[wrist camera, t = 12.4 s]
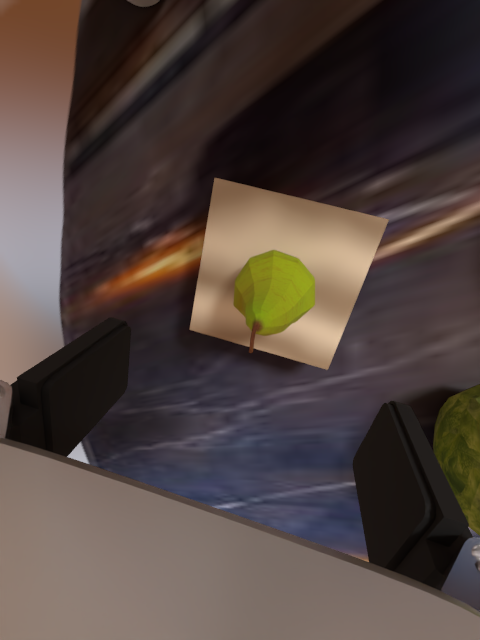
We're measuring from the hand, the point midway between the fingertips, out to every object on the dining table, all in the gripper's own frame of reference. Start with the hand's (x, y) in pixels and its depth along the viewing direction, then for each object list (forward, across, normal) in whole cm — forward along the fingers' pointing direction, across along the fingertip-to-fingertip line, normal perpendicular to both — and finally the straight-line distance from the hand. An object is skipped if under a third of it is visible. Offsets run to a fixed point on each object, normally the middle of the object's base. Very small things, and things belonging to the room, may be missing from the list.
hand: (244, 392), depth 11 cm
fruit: (+17, 0, +1) cm, 17 cm away
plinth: (+22, 0, +1) cm, 22 cm away
